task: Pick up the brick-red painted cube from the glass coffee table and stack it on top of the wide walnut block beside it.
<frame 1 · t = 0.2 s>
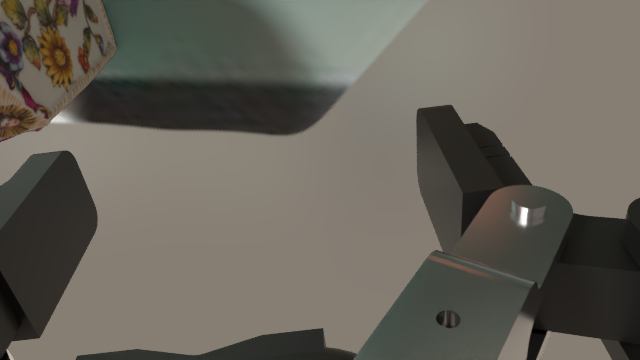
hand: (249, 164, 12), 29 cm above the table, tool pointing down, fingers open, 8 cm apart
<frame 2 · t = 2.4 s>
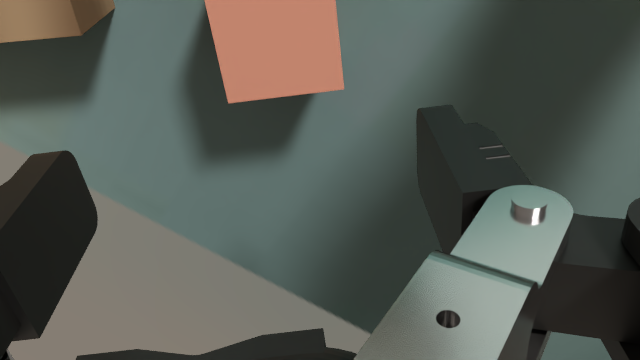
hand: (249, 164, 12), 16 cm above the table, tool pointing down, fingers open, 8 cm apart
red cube: (281, 2, 26), on the table
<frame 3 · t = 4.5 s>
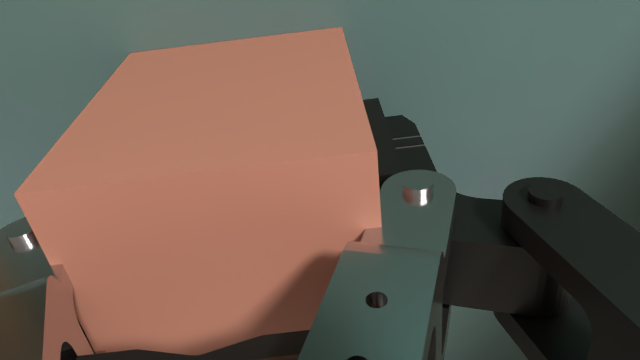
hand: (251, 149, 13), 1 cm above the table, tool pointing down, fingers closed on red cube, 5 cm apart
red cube: (254, 134, 13), on the table, touching gripper
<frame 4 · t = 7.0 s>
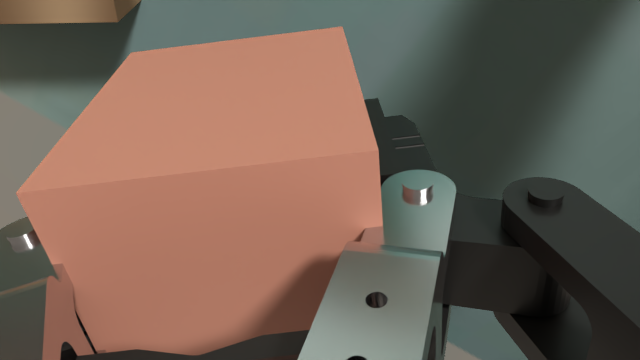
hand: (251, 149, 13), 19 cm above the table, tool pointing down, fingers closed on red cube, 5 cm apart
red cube: (255, 134, 13), point 19 cm above the table, touching gripper
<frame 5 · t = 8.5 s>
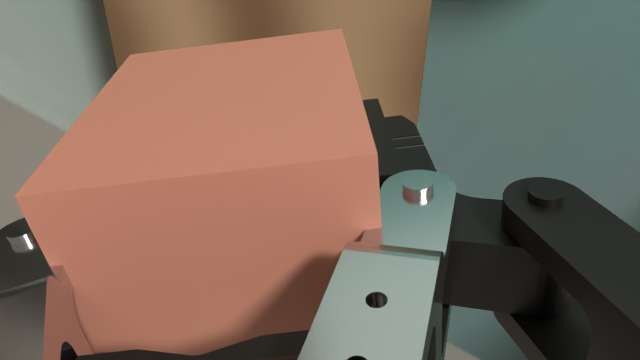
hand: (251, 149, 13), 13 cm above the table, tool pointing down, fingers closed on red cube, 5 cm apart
walnut block: (276, 14, 24), on the table
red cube: (254, 136, 13), point 12 cm above the table, touching gripper
when the fingers open (7 cm above the table, at t = 9.8 s): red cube drops 2 cm, resting on walnut block.
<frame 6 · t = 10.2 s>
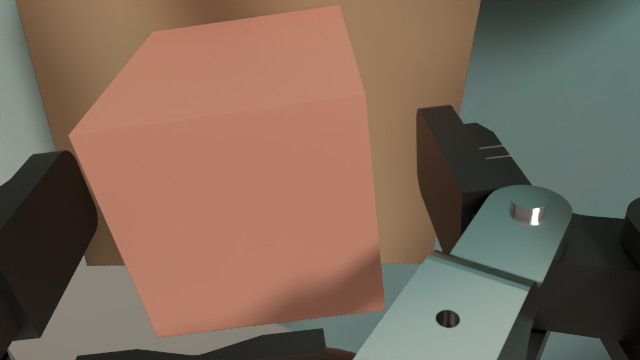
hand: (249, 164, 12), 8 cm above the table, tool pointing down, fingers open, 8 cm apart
walnut block: (264, 51, 19), on the table, touching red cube
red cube: (263, 105, 15), point 5 cm above the table, touching walnut block
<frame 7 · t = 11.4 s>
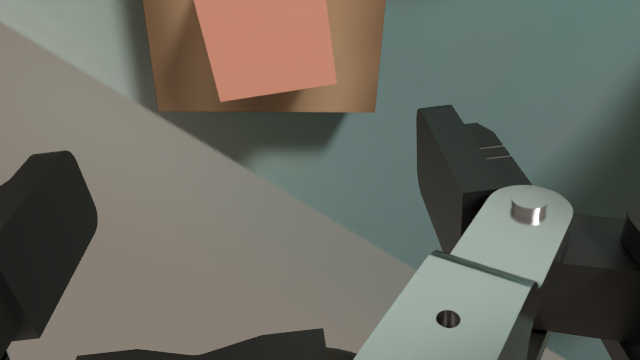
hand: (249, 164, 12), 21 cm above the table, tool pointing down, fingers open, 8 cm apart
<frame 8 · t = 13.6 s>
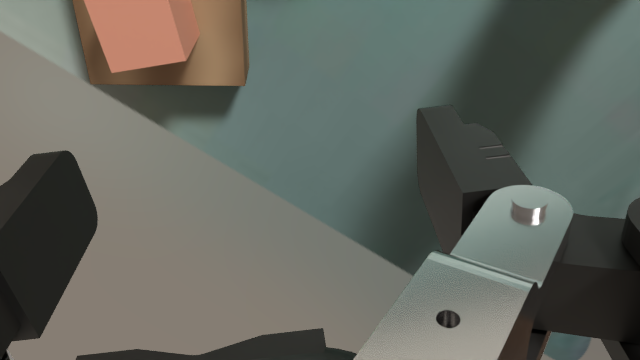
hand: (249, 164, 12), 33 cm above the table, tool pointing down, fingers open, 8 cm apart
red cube: (157, 5, 38), point 5 cm above the table, touching walnut block
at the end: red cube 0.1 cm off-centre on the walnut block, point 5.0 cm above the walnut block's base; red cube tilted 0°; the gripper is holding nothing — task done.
